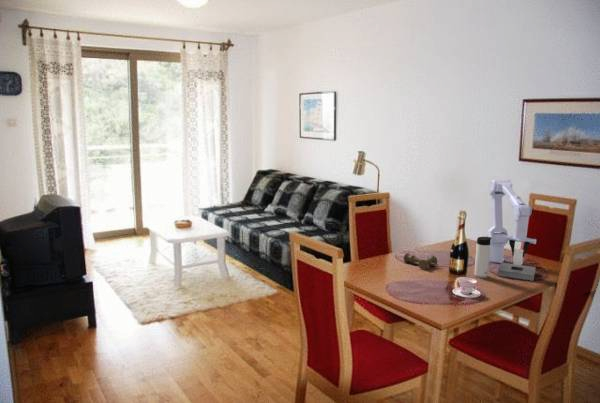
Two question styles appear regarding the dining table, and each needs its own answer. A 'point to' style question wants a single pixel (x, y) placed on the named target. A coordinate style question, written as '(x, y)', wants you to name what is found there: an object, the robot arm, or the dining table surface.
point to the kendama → (421, 261)
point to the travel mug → (482, 257)
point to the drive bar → (518, 257)
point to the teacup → (466, 288)
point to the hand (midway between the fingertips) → (518, 255)
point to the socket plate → (516, 271)
